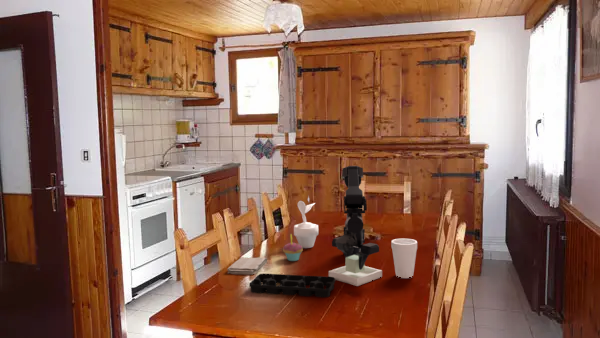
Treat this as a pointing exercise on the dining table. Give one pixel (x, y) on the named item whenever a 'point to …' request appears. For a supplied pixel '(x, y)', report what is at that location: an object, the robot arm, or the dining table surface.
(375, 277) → the tray
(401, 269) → the foam cup
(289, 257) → the cupcake
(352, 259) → the cube
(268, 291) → the egg carton
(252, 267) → the washcloth
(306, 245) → the potted plant
